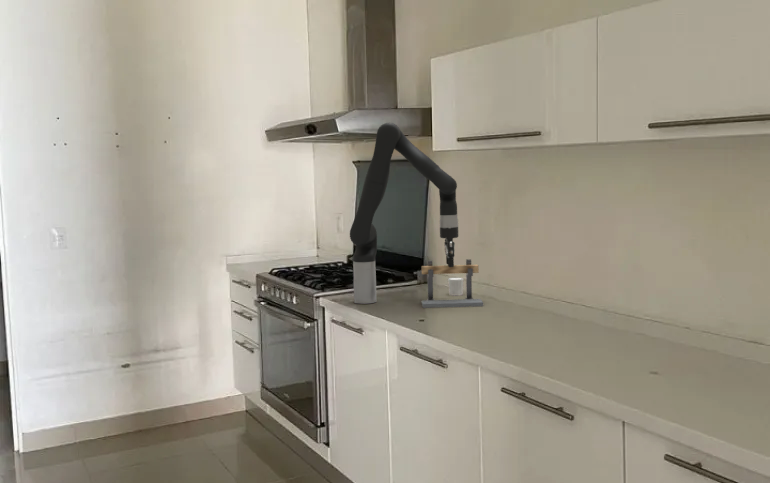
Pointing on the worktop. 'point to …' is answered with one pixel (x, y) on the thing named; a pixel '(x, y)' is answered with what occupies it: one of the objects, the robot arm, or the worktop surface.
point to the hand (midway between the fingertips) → (450, 265)
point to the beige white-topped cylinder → (455, 286)
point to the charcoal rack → (468, 280)
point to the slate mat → (451, 303)
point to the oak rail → (450, 269)
